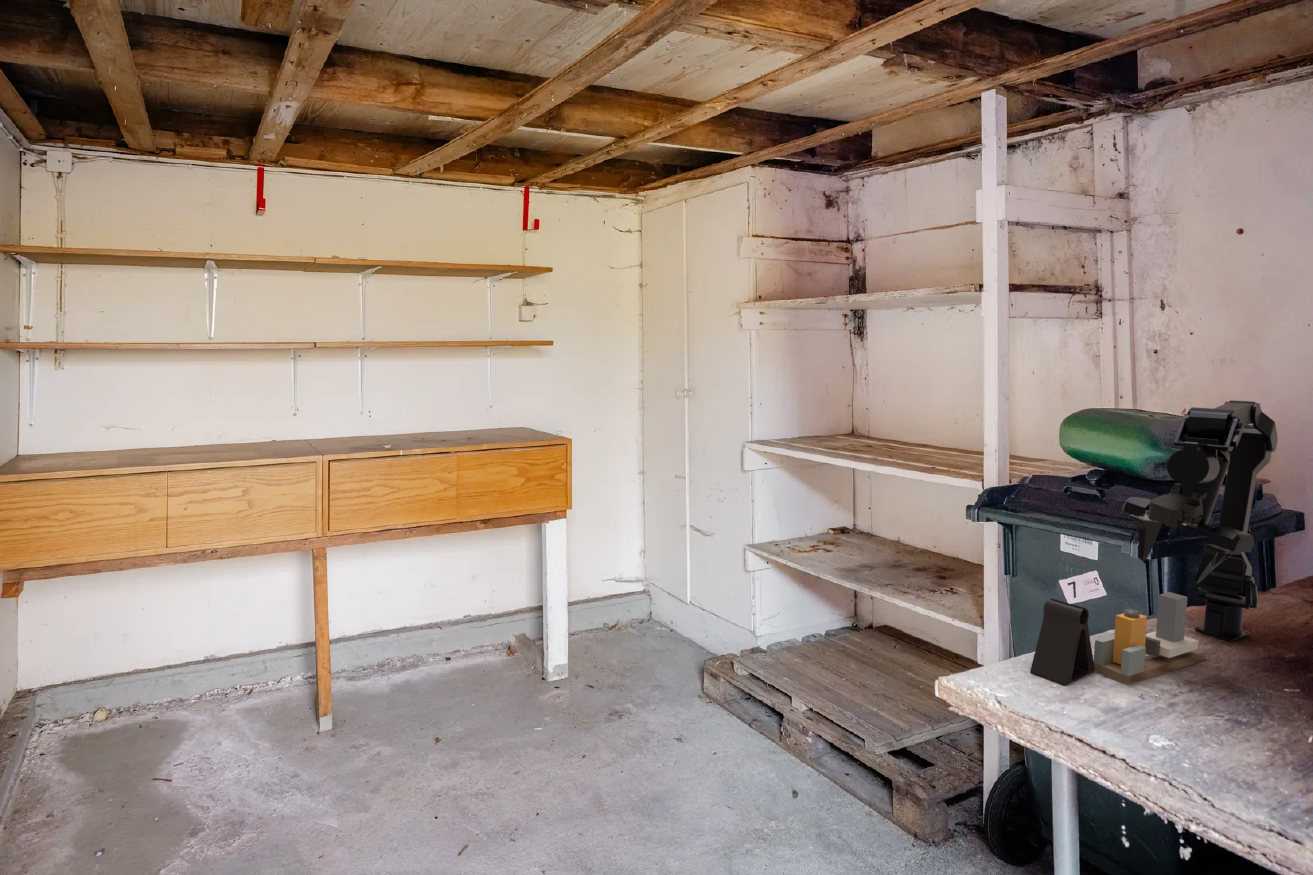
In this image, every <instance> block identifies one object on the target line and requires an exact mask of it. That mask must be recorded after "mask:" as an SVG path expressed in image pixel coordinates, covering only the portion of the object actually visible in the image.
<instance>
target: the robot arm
mask: <svg viewBox="0 0 1313 875" xmlns="http://www.w3.org/2000/svg"><path fill="white" fill-rule="evenodd" d="M1172 445H1173V447H1179V448H1180V447H1181V448H1182V449H1179V450H1177V451H1175V452H1174V453H1173V454H1172V455H1171V456H1170V457H1169V458H1168V460H1167V463H1166V470H1167V474H1168V475H1169V477H1170V478H1171V479H1172V480H1173V481H1174V482H1175V483H1173V485H1172V486H1171V488H1170V491H1168V493H1165V494H1162V495H1159V496H1156V497H1155V498H1152V499H1149V498H1146V497H1138V496H1137V497H1136V496H1130V497H1129V498H1127V499H1126V500H1125V501H1124V503H1123V506H1122V509H1121V511H1122V512H1124V513H1127V514H1128V516H1127V517H1128V519H1130V520H1131V521H1132V522H1133V523H1134V525H1135V527H1136V530H1137V533H1138V534H1137V536H1138V543H1139V544H1138V546H1139V559H1140V561H1146V560H1147V559H1148V558H1149V555H1150V553H1151V551H1152V549H1153V546H1154V544H1155V542H1156V539H1157V536H1158V534H1159V533H1160V529H1161V527H1162V525H1163V524H1164V525H1165V526H1166V527H1168V528H1183V529H1185V530H1188V531H1191V532H1194V533H1196V534H1198V535H1202V536H1203V537H1207V538H1208V539H1209V542H1210V543H1204V544H1203V547H1204V548H1203V550H1204V553H1203V555H1202V556H1201V560H1200V563H1199V566H1198V567H1197V568H1196V571H1195V574H1194V575H1195V576H1194V580H1193V583H1194V588H1195V589H1194V592H1195V593H1194V594H1195V597H1194V598H1195V599H1197V600H1204V601H1205V610H1204V617H1203V618H1204V619H1203V624H1201V625H1197V626H1195V627H1194V630H1195V631H1197V632H1200V633H1204V634H1206V635H1208V636H1209V635H1210V636H1213V637H1215V638H1216V637H1217V638H1218V639H1219V638H1220V639H1222V640H1225V641H1229V642H1233V641H1237V640H1241V639H1243V638H1245V637H1249V636H1251V632H1250V631H1247V630H1243V619H1244V609H1245V610H1250V609H1257V608H1258V601H1259V595H1258V586H1257V584H1256V582H1255V577H1254V576H1252V573H1253V567H1252V565H1251V563H1250V561H1249V559H1248V557H1247V555H1246V553H1252V551H1253V550H1254V549H1253V548H1254V545H1255V539H1254V536H1253V534H1250V533H1248V531H1249V523H1250V517H1251V511H1252V507H1253V506H1252V505H1253V500H1254V499H1253V498H1254V495H1255V487H1256V481H1257V477H1258V476H1257V475H1258V474H1259V473H1260V472H1261V471H1262V470H1263V469H1264V468H1265V467H1266V466H1267V465H1268V464H1269V463H1270V461H1271V458H1272V453H1275V452H1276V449H1277V446H1278V432H1277V427H1276V422H1275V421H1274V420H1273V419H1272V418H1271V417H1269V415H1267V414H1265V413H1264V412H1263V411H1262V408H1261V404H1260V403H1259V402H1256V401H1251V400H1232V399H1230V400H1229V401H1225V402H1224V403H1223V404H1221V405H1219V406H1216V407H1214V408H1209V407H1195V406H1194V407H1193V406H1191V408H1189V409H1188V410H1187V413H1184V414H1183V416H1182V418H1181V421H1180V424H1179V426H1178V430H1177V432H1176V435H1175V438H1174V441H1173V444H1172ZM1225 476H1226V478H1225ZM1224 480H1225V484H1224V489H1223V494H1220V491H1221V488H1222V484H1223V482H1224ZM1221 500H1222V502H1221V506H1220V513H1219V519H1218V525H1217V526H1212V524H1213V521H1214V519H1215V518H1213V517H1211V515H1212V513H1213V510H1214V507H1215V504H1216V502H1217V501H1219V502H1220V501H1221Z"/></svg>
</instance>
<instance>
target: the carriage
mask: <svg viewBox="0 0 1313 875" xmlns="http://www.w3.org/2000/svg"><path fill="white" fill-rule="evenodd" d="M1188 598H1189V597H1188V596H1185V595H1183V594H1182V595H1181V594H1179V593H1178V594H1177V593H1175V592H1171V591H1168V592H1164V593H1161V594H1159V595H1158V601H1157V617H1156V618H1157V619H1156V627H1155V628H1156V629H1155V631H1152V632H1149V633H1146V640H1145V648H1146V651H1145V652H1146V653H1149V654H1152V655H1155V656H1157V655H1162V656H1164V657H1167V658H1171V657H1174V656H1177V655H1181V654H1184V653H1187V652H1190V651H1193V650H1196V649H1199V640H1198V639H1194V638H1192V637H1188V636H1186V635H1185V633H1186V632H1185V631H1186V623H1187V622H1186V621H1187V620H1186V619H1187V608H1188Z"/></svg>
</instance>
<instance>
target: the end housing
mask: <svg viewBox="0 0 1313 875" xmlns="http://www.w3.org/2000/svg"><path fill="white" fill-rule="evenodd" d="M1114 637H1115V635H1106V636H1104V637H1099V638H1097V639H1095V640H1094V650H1093V651H1094V652H1093V662H1094V663H1096V664H1099V665H1104V664H1107V663H1111V662H1113V652H1114ZM1145 651H1146V648H1145V647H1142V646H1139V645H1136V646H1133V647H1129V648H1126V649H1123V650H1122V661H1121V674H1124V675H1126V676H1131V675H1134V674H1137V673H1140V672H1143V671H1144V665H1145Z"/></svg>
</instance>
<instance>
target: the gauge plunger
mask: <svg viewBox="0 0 1313 875" xmlns="http://www.w3.org/2000/svg"><path fill="white" fill-rule="evenodd" d="M1123 611H1124V612H1123V613H1121V614H1116V615H1115V626H1114V652H1113V662H1115V663H1118V664H1121V661H1122V650H1123V649H1126V648H1129V647H1133V646H1136V645H1139V646H1142V647H1145V640H1146V634H1147V623H1148V615H1144V614H1141V613H1140V612H1141V611H1139V610H1137V609H1133V608H1126V609H1124V610H1123Z"/></svg>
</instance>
